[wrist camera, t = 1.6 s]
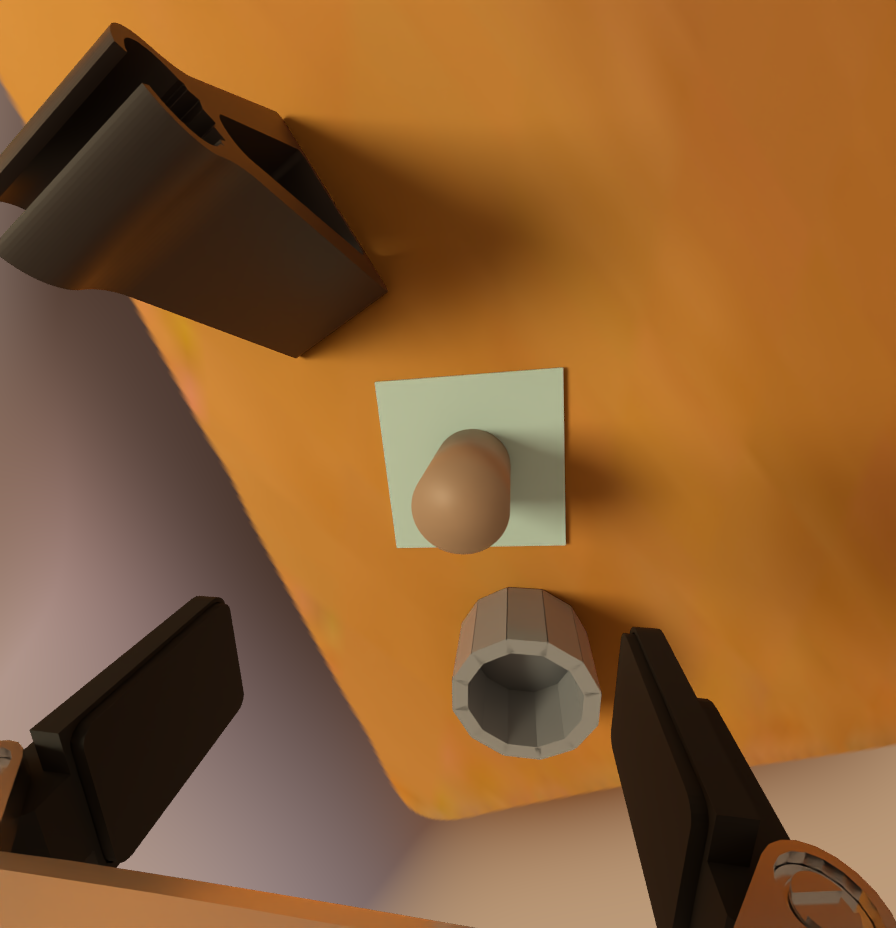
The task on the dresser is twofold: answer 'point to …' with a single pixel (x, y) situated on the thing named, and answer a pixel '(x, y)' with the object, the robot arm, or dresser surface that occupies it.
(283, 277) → the phone stand
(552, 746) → the cup
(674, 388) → the dresser surface
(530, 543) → the lid
